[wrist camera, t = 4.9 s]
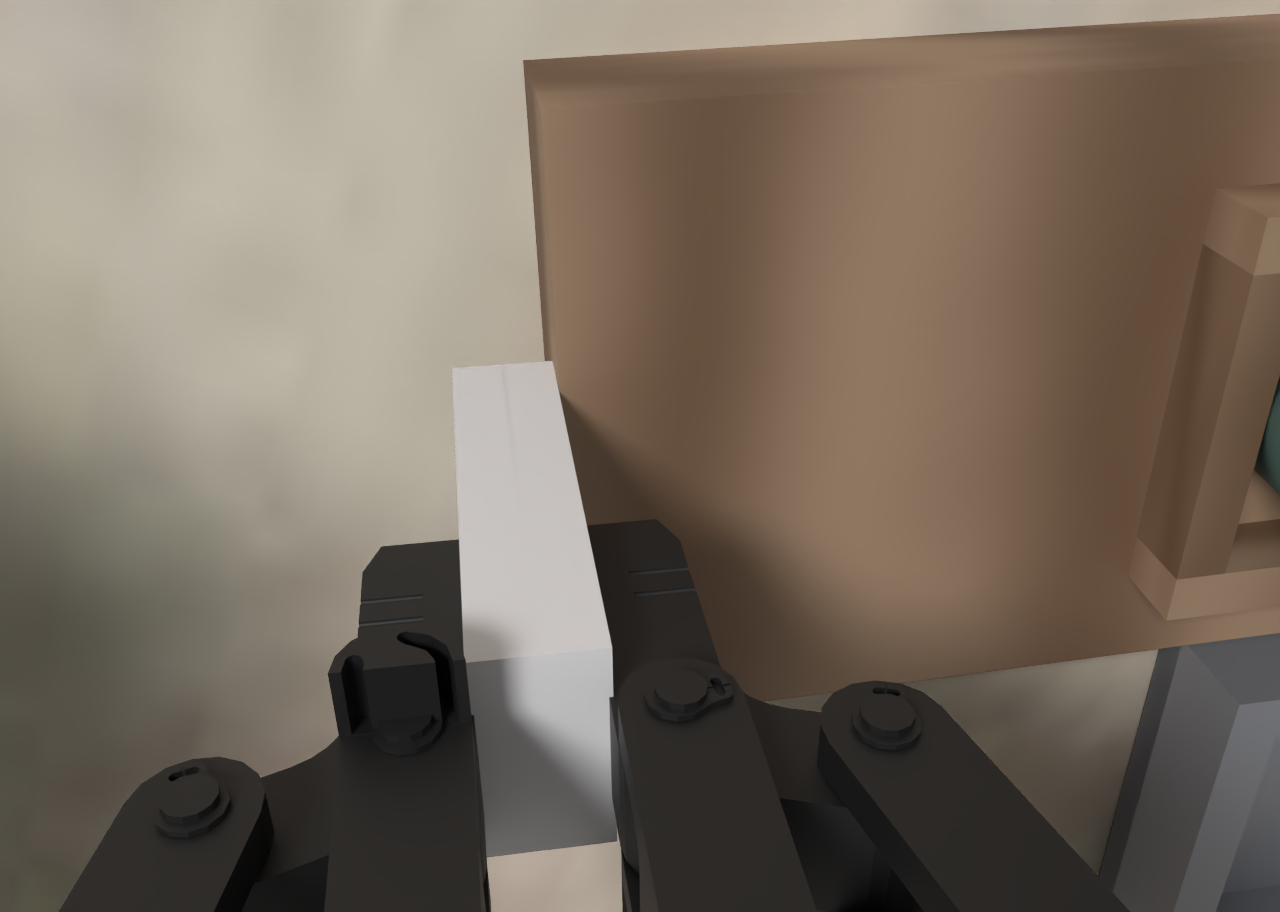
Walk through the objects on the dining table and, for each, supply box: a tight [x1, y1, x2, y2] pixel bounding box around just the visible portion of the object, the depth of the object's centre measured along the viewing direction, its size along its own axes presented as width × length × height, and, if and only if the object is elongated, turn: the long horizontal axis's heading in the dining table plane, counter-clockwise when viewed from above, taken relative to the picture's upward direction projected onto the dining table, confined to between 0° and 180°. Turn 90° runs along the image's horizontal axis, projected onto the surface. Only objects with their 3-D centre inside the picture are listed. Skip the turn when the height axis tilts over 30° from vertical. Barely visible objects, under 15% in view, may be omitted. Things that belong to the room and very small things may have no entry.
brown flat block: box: [523, 14, 1280, 702], centre depth 19 cm, size 16×10×4 cm, turn 92°
